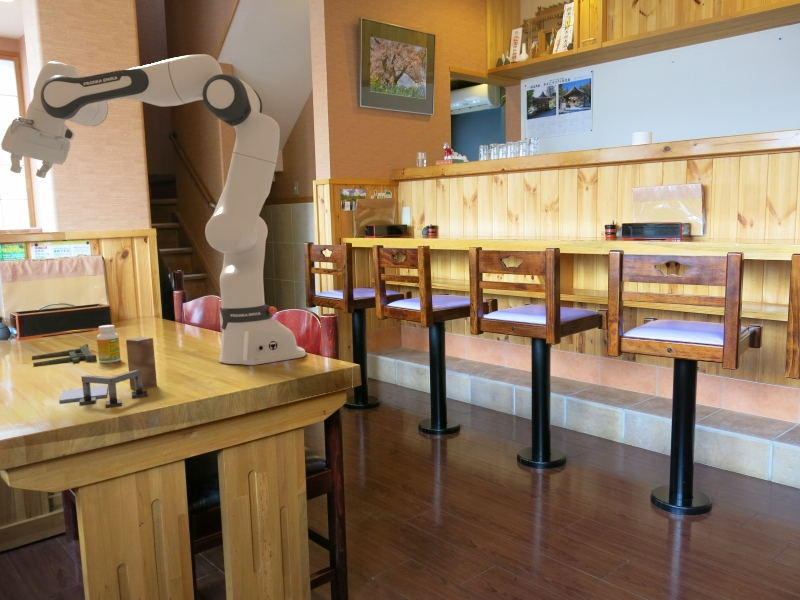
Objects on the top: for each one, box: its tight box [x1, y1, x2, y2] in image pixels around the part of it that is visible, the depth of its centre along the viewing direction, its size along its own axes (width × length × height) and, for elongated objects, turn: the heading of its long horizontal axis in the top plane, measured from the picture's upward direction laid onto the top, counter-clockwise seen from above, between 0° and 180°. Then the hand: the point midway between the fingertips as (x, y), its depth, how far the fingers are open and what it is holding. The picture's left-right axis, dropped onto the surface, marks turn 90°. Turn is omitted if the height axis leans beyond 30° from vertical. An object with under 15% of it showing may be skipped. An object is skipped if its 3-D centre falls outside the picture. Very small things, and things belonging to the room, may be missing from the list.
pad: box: [58, 384, 109, 404], centre depth 143 cm, size 9×9×1 cm
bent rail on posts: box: [78, 369, 148, 408], centre depth 136 cm, size 13×8×6 cm, turn 112°
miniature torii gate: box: [31, 343, 98, 368], centre depth 185 cm, size 22×2×15 cm
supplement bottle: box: [96, 324, 121, 364], centre depth 178 cm, size 5×5×10 cm
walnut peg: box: [125, 336, 158, 391], centre depth 147 cm, size 4×4×11 cm
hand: (27, 174), depth 172 cm, fingers open, 8 cm apart
